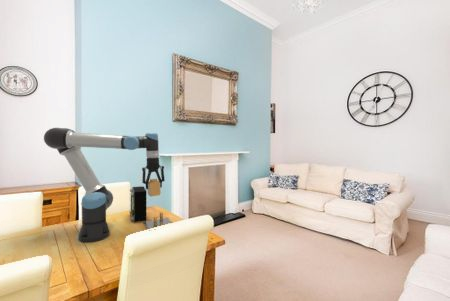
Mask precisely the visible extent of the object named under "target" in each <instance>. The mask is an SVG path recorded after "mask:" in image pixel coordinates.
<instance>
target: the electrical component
mask: <svg viewBox="0 0 450 301" xmlns="http://www.w3.org/2000/svg"><path fill="white" fill-rule="evenodd" d="M129 192H130V210H129V214H130V215H131V217H130V221H133V223H139V222H146V221H147V189H146V187H145V186H133V187H131V188H130V189H129Z"/></svg>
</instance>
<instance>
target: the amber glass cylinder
mask: <svg viewBox="0 0 450 301" xmlns="http://www.w3.org/2000/svg"><path fill="white" fill-rule="evenodd" d="M153 220H154V226H157V220H158V217H157V216H154V217H153Z"/></svg>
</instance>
